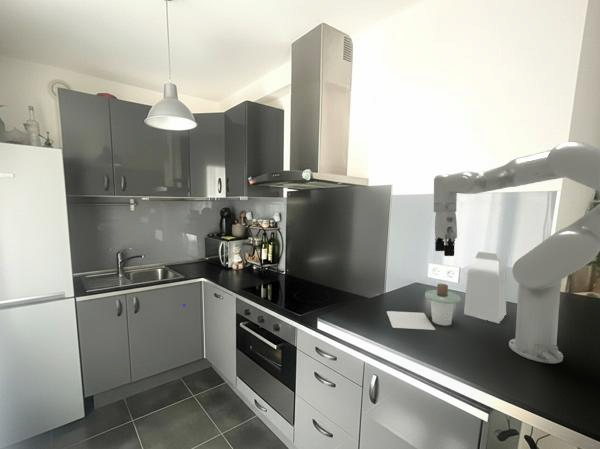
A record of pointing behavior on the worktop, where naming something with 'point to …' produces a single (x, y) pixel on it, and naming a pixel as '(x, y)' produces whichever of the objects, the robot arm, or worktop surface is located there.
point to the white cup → (441, 313)
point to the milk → (486, 288)
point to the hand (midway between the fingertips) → (444, 253)
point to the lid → (442, 295)
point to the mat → (409, 320)
